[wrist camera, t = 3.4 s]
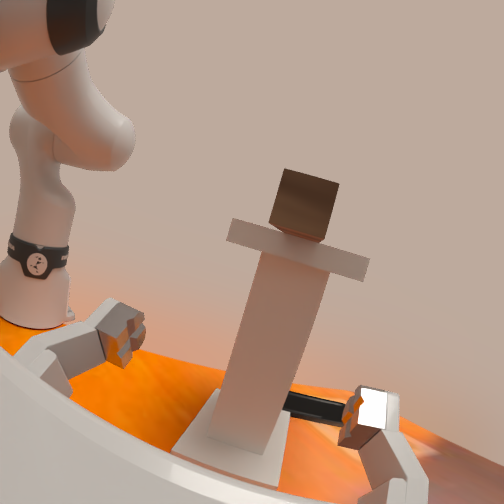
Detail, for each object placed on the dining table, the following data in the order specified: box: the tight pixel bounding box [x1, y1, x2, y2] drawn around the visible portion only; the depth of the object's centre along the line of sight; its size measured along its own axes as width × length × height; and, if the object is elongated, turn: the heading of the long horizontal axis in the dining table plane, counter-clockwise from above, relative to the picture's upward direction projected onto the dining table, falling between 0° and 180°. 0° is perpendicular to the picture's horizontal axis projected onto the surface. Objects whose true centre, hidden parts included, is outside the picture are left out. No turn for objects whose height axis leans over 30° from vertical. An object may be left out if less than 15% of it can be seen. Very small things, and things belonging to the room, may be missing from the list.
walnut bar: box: [269, 169, 339, 243], centre depth 29 cm, size 26×3×3 cm, turn 168°
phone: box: [282, 391, 346, 427], centre depth 49 cm, size 8×1×15 cm
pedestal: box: [170, 218, 370, 491], centre depth 36 cm, size 18×12×26 cm, turn 168°
